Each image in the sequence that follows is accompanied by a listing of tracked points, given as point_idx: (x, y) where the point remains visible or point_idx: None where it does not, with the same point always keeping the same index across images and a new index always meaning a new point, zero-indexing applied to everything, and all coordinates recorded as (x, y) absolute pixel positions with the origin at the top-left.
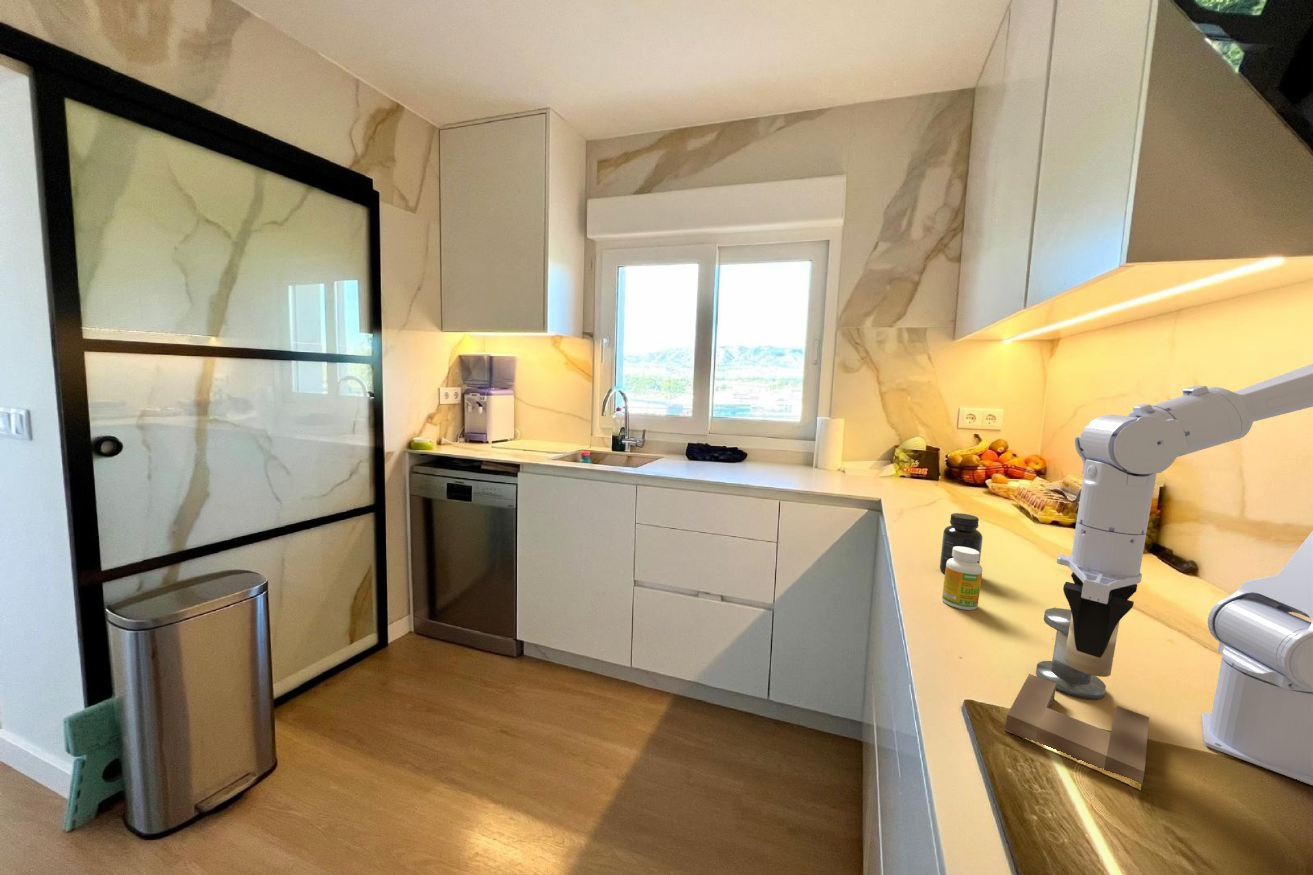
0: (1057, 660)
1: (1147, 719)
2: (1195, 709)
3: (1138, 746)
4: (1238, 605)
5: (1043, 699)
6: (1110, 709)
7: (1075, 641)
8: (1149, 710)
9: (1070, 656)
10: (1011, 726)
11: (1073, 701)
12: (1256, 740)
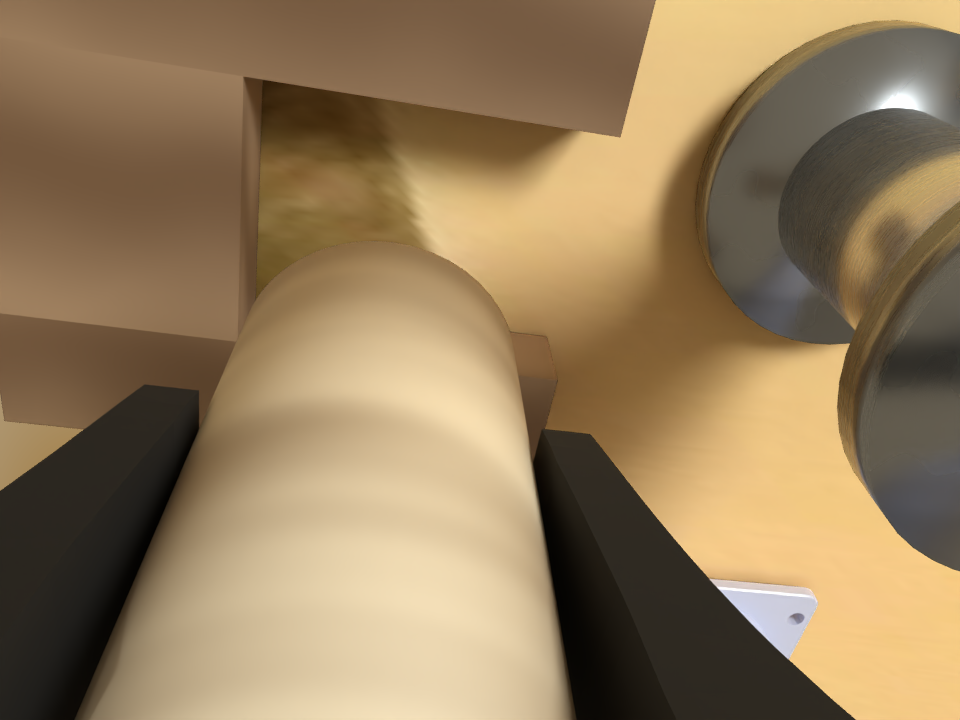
0: (877, 158)
1: None
2: (859, 574)
3: None
4: None
5: (338, 62)
6: (662, 334)
7: (99, 418)
8: (752, 455)
9: (272, 302)
10: None
11: (638, 197)
12: None
